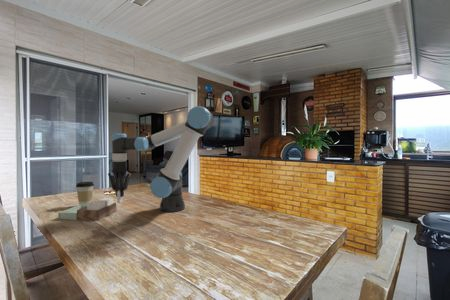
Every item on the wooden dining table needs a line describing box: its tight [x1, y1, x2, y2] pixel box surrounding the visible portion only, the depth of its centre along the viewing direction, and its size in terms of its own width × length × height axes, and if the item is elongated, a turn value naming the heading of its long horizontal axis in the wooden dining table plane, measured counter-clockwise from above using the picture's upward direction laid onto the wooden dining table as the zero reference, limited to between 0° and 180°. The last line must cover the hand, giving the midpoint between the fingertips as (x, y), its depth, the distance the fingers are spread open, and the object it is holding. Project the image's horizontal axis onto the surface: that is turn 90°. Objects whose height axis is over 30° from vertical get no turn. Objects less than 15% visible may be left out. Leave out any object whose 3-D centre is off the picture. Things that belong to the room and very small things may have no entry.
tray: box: [57, 204, 87, 221], centre depth 128 cm, size 10×17×4 cm, turn 175°
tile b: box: [87, 200, 105, 210], centre depth 122 cm, size 6×6×3 cm
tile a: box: [96, 197, 115, 206], centre depth 130 cm, size 6×6×3 cm
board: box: [76, 202, 117, 221], centre depth 127 cm, size 12×16×5 cm
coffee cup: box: [75, 181, 95, 205], centre depth 145 cm, size 10×10×15 cm
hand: (119, 202), depth 130 cm, fingers closed
